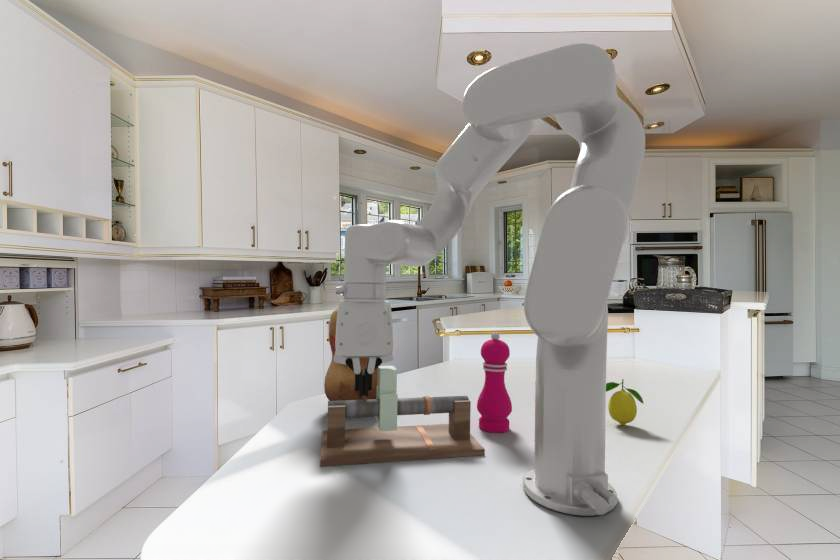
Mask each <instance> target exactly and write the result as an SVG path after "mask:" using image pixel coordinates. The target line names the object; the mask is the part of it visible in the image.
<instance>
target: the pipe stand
mask: <svg viewBox="0 0 840 560" xmlns="http://www.w3.org/2000/svg"><path fill="white" fill-rule="evenodd" d="M379 412H380V399H368V400H343V401H329V400H328V401H327V426H326V427H327V429H325V430H324V429H323V430H321V445H320V457H319V460H320V461H319V463H320V464H319V467H329V466H330V467H331V466H334V467H335V466H346V465H347V466H348V465H359V464H361V465H362V464H373V463H375V464H376V463H389V462H402V461H405V462H406V461H417V460H430V459H431V460H433V459H442V458H443V459H444V458H445V459H446V458H459V457H473V456H485V455H486V454H485V452H486V449H485V448H484V447H483V446H482V444H481V443H479V441H478V440H477V439H476V438H475V437H474V436H473V435H472V433H471V400H470V397H469V396H468V395H451V396H450V395H448V396H447V395H446V396H422V397H401V398H400V397H399V398H397V416H410V415H411V416H413V415H414V416H415V415H423V416H430V415H431V414H432V415H434V414H435V415H436V414H448V423H443V424H442V423H440V424H420V425H418V424H417V425H402V426H398V425H397V430H394V431H380V430H379V427H366V428H365V427H363V428H347V429H346V419H349V418H368V417H369V418H370V417H371V418H372V417H376V416H379Z"/></svg>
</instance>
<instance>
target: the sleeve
mask: <svg viewBox="0 0 840 560" xmlns="http://www.w3.org/2000/svg"><path fill="white" fill-rule="evenodd" d="M397 380H398V370H397V368H396V367H395V366H394V365H380V366H378V384H377V399H380V412H379V416H375V420H376V423H377V426H378V427H377V428H379V430H380V431H394V430H397V427H398V415H397V398H398V397H399V396H398V395H399V394H398V392H397V388H398V386H397V383H398V381H397Z"/></svg>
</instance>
